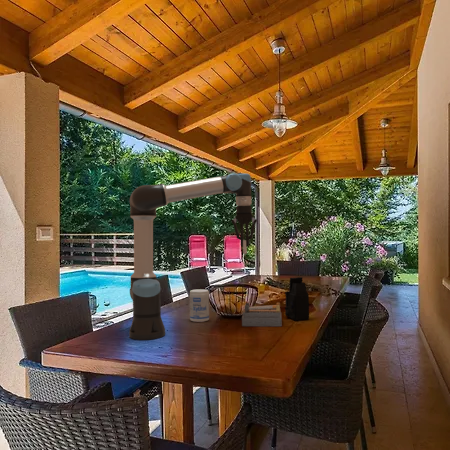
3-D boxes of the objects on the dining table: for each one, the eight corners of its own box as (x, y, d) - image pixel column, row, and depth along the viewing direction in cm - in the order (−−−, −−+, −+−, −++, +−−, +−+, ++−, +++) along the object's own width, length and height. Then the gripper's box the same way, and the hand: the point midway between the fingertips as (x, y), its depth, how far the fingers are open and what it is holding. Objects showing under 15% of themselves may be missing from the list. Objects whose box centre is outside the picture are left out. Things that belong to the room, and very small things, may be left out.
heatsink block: (242, 326, 194) (241, 306, 194) (244, 320, 206) (243, 301, 206) (281, 326, 191) (281, 306, 191) (281, 320, 203) (281, 301, 203)
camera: (298, 314, 216) (297, 275, 216) (311, 319, 203) (310, 278, 204) (280, 316, 213) (279, 276, 213) (293, 321, 200) (292, 279, 200)
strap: (245, 310, 198) (245, 307, 198) (246, 309, 201) (246, 306, 201) (279, 308, 196) (278, 305, 196) (279, 306, 199) (278, 304, 199)
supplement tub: (193, 323, 202) (192, 292, 202) (187, 319, 211) (186, 290, 211) (212, 321, 206) (211, 290, 206) (205, 317, 215) (204, 288, 215)
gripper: (229, 205, 205) (230, 254, 205) (256, 204, 203) (257, 253, 203) (231, 206, 212) (232, 253, 212) (257, 205, 211) (258, 252, 211)
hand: (245, 253), depth 208 cm, fingers closed
